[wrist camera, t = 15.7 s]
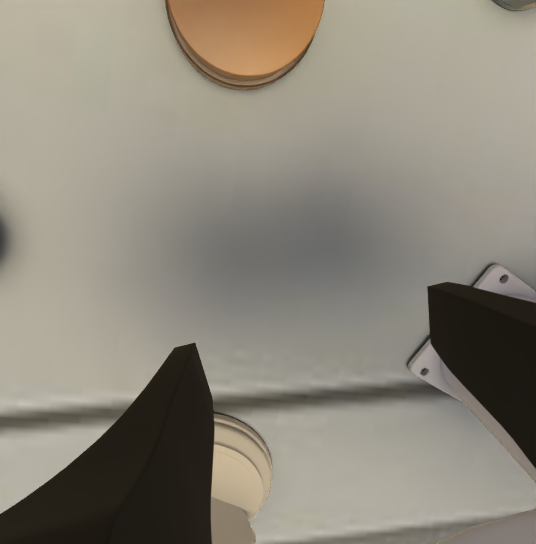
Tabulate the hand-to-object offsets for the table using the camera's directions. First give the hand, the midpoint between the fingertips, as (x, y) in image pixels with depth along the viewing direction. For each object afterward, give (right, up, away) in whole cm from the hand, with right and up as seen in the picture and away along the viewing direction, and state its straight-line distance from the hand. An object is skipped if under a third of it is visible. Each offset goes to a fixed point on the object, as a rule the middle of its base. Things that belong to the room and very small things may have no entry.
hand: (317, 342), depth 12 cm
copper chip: (-2, +13, +3) cm, 13 cm away
